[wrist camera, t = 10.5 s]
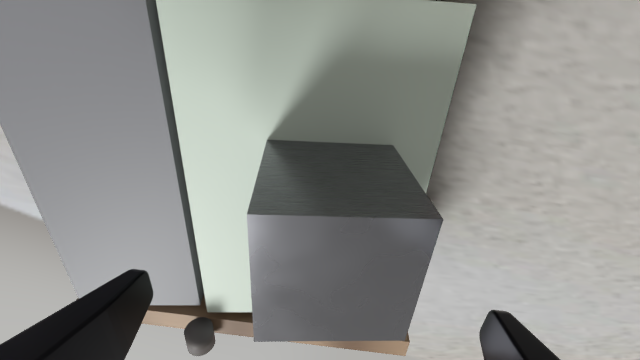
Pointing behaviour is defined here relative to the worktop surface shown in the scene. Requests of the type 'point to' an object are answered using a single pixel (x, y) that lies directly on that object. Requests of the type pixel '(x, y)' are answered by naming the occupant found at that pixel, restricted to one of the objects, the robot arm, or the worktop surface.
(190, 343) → the frame
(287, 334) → the block
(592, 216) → the worktop surface
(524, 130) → the worktop surface
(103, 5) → the trapdoor
